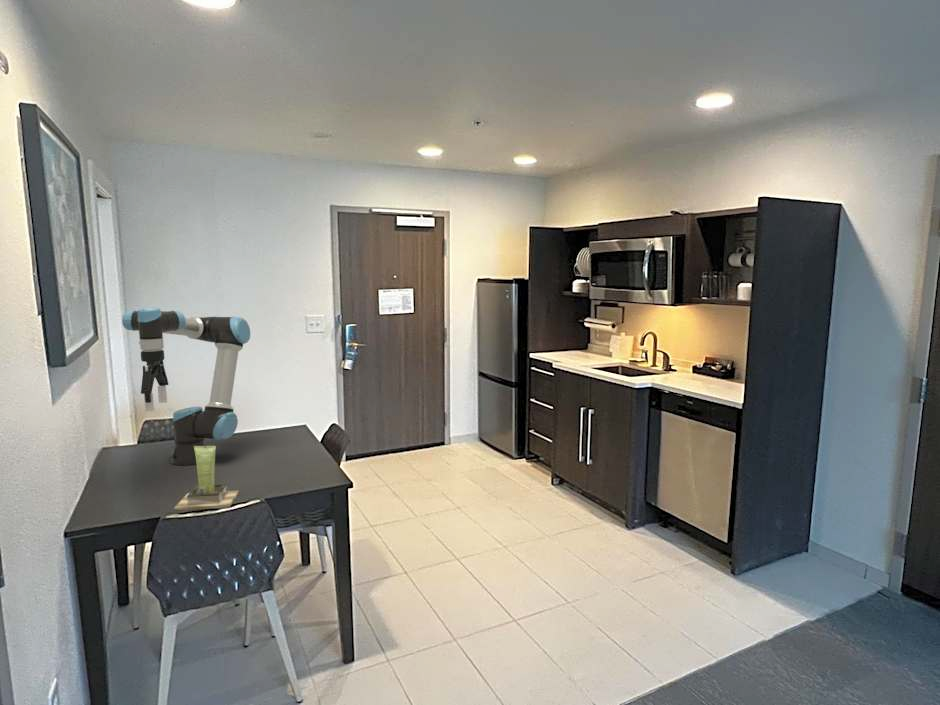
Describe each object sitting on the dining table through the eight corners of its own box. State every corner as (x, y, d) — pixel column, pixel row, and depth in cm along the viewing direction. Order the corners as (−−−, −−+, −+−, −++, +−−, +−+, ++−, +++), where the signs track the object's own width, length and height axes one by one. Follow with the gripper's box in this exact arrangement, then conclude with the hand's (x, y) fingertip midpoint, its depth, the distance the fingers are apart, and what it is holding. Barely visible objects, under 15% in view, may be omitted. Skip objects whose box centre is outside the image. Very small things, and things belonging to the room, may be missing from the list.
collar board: (188, 495, 214) (187, 484, 213) (239, 493, 216) (238, 481, 216) (174, 510, 200) (173, 498, 200) (229, 507, 203) (228, 495, 202)
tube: (212, 494, 212) (209, 442, 209) (219, 498, 209) (215, 445, 206) (197, 498, 208) (193, 446, 205) (203, 502, 204) (199, 449, 202)
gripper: (153, 345, 224) (157, 399, 227) (127, 355, 200) (132, 415, 203) (174, 345, 225) (178, 398, 228) (150, 354, 201) (155, 414, 204)
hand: (156, 406), depth 215 cm, fingers open, 13 cm apart
